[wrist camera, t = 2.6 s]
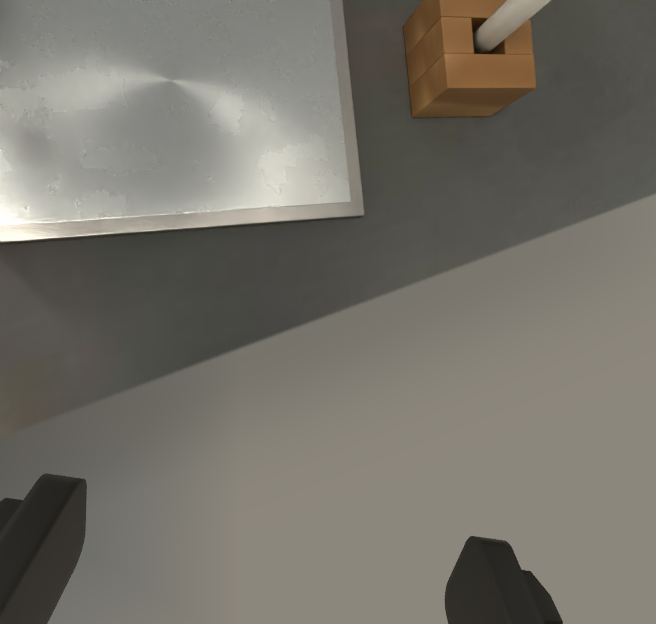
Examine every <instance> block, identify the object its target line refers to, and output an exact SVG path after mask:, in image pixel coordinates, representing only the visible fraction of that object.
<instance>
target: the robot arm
mask: <svg viewBox="0 0 656 624" xmlns="http://www.w3.org/2000/svg"><path fill="white" fill-rule="evenodd" d="M86 488H87V486H86V480H84V479H80V478H72V477H66V476H59V475H52V474H44V475H42V476H41V477H40V478H39V479H38V481H37V482H36V483H35V485H34V486H33V487H32V489H31V490H30V492H29V493H28V494H27V496H26V497H25V499H24V500H17V499H9V498H5V499H3V500H2V501H1V502H0V624H47V623H48V621H49V619H50V617H51V615H52V613H53V611H54V609H55V607H56V605H57V603H58V601H59V599H60V597H61V595H62V593H63V591H64V589H65V587H66V585H67V583H68V581H69V579H70V577H71V575H72V573H73V571H74V569H75V567H76V564H77V562H78V559H79V557H80V554H81V551H82V547H83V543H84V537H85V522H86ZM445 609H446V615H447V620H448V623H449V624H563V621H562V619H561V617H560V615H559V613H558V611H557V609H556V607H555V604H554V602H553V600H552V598H551V596H550V595H549V593H548V592H547V591H546V589H545V588H544V587H543V586H542V585H541V583H540V582H539V581H538V580H537V579H536V577H535V576H534V575H533V574H532V573H531V571H525V570H521V568H520V566H519V564H518V561H517V558H516V556H515V554H514V551H513V549H512V547H511V546H510V544H509V543H508V542H506V541H503V540H496V539H489V538H481V537H475V536H471V537H469V538H468V540H467V541H466V543H465V545H464V548H463V550H462V552H461V554H460V556H459V559H458V561H457V563H456V565H455V567H454V569H453V571H452V574H451V576H450V578H449V580H448V583H447V586H446V592H445Z"/></svg>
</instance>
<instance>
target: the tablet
mask: <svg viewBox="0 0 656 624" xmlns="http://www.w3.org/2000/svg"><path fill="white" fill-rule="evenodd" d="M364 215H365V213H364V203H363V193H362V184H361V174H360V164H359V155H358V145H357V136H356V126H355V116H354V107H353V97H352V87H351V78H350V68H349V58H348V49H347V39H346V30H345V20H344V10H343V1H342V0H0V245H3V244H16V243H29V242H43V241H56V240H69V239H82V238H96V237H109V236H122V235H135V234H149V233H162V232H175V231H188V230H202V229H215V228H228V227H241V226H255V225H268V224H281V223H294V222H308V221H321V220H334V219H347V218H360V217H362V216H364Z"/></svg>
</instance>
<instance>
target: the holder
mask: <svg viewBox="0 0 656 624" xmlns="http://www.w3.org/2000/svg"><path fill="white" fill-rule="evenodd" d="M506 1H507V0H423V1H422V3H421V4H420V5H419V7H418V8H417V9H416V10H415V12H414V13H413V14H412V16H411V17H410V18H409V20H408V21H407V22H406V24H405V25H404V26H403V30H404V41H405V51H406V56H407V57H406V59H407V70H408V80H409V92H410V102H411V113H412V118H430V117H475V116H491V115H493V114H494V113H496V112H497V111H499V110H501V109H502V108H504V107H506V106H507V105H509V104H510V103H512V102H514V101H515V100H517V99H519V98H520V97H522V96H523V95H525V94H527V93H528V92H530V91H531V90H533V89H535V88H536V77H535V65H534V55H533V44H532V32H531V21H530V19H531V18H529V19H528V20H527V21H526V22H525V23H523V24H522V25H521V26H520V27H519V28H517V29H516V30H515V31H514V32H513V33H511V34H510V35H509V36H508V37H507V38H506V39H504V40H503V41H502V42H501V43H500V44H498V45H497V46H496V47H495V48H494V49H492V50H491V51H490V52H489V53H488V54H474V45H473V33H474V32H475V31H476V30H477V29H478V28H479V27H480V26H481V25H482V24H483V23H484V22H485V21H486V20H487V19H488V18H489V17H490V16H492V15H493V14H494V13H495V12H496V11H497V10H498V9H499V8H500V7H501V6H502V5H503V4H504V3H505V2H506Z"/></svg>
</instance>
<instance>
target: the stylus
mask: <svg viewBox="0 0 656 624" xmlns="http://www.w3.org/2000/svg"><path fill="white" fill-rule="evenodd" d="M550 1H551V0H507V1H506V2H505V3H504V4H503V5H502V6H501V7H500V8H499V9H498V10H497V11H496V12H495V13H494V14H493V15H492V16H490V17H489V18H488V19H487V20H486V21H485V22H484V23H483V24H482V25H481V26H480V27H479V28H478V29H477V30H476V31H475V32H474V33H473V45H474V54H488V53H489V52H490V51H491V50H492V49H494V48H495V47H496V46H497V45H498V44H500V43H501V42H502V41H503V40H504V39H506V38H507V37H508V36H509V35H510V34H511V33H513V32H514V31H515V30H516V29H517V28H519V27H520V26H521V25H522V24H523V23H525V22H526V21H527V20H528V19H529V18H531V17H532V16H533V15H534V14H535V13H537V12H538V11H539V10H540V9H541V8H543V7H544V6H545V5H546V4H547V3H548V2H550Z"/></svg>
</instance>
